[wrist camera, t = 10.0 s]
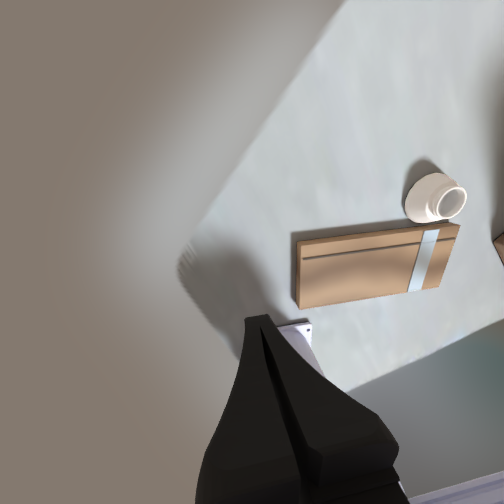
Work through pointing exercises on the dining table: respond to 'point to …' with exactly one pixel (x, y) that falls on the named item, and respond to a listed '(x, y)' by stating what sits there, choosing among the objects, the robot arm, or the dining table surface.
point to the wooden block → (500, 246)
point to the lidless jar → (434, 199)
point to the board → (372, 264)
